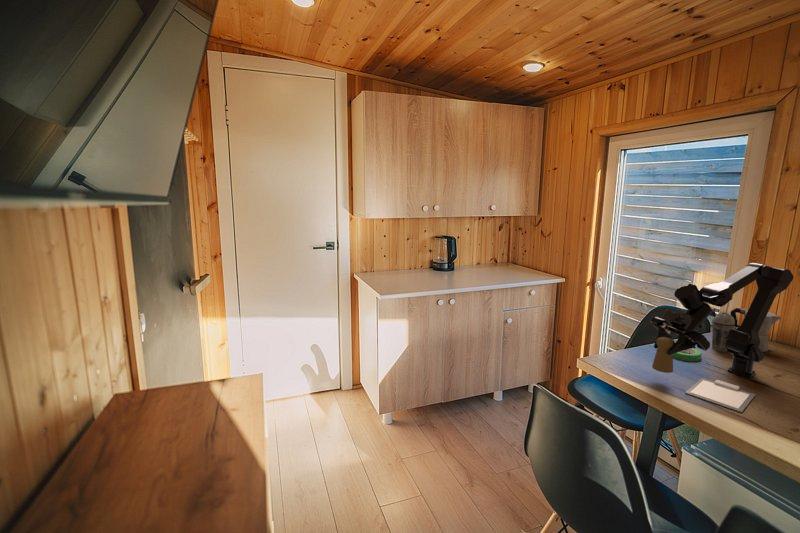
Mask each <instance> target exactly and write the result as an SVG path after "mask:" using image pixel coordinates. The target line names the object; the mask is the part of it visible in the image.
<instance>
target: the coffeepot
mask: <svg viewBox="0 0 800 533" xmlns="http://www.w3.org/2000/svg"><path fill="white" fill-rule="evenodd" d="M747 311H748V309H744V308H739V307H736V308H733V309H731V311H730V312H729V313H730V315H731V316H732V317H733V318H734V320H735V325H734V328H738V327H740V326H741V325H740V324H738V319H737V313H738V314H742V315H743V318H744V317H745V315H746V313H747ZM782 319H783V317H782V316H780V315H778V314H773V313H772V312H769V311H768V313H767V315H766V318H765V320H764V322H763V324H762V326H761V328H760V330H759V332H758V334H759V338H760V345H759V349H760V350H761V351H762V352H763V353H765V352H768V351H769V349H770V348H769V346H770V344H769V335H768V332H769V331H770V330H771V328H772V325H774V324H775V323H776V322H777V321H779V320H782Z"/></svg>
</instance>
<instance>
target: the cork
mask: <svg viewBox="0 0 800 533" xmlns="http://www.w3.org/2000/svg"><path fill="white" fill-rule="evenodd" d="M656 339H657V338H656ZM655 342H656V343H657V346H658V348H657V349H656V352H655V356H654V360H653V362H652V366H651V367H652V369H653V370H655V371H657V372H661V373H665V374H669V373H673V372H674V357H673V354H671V355H668V354H667V352H668V350H669V349H670V348H671V347H672V346H673V345H674V344H675V342H676V341H675V340H674V339H673V338H667V337H659V338H658V339H657V341H656V340H655Z"/></svg>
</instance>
